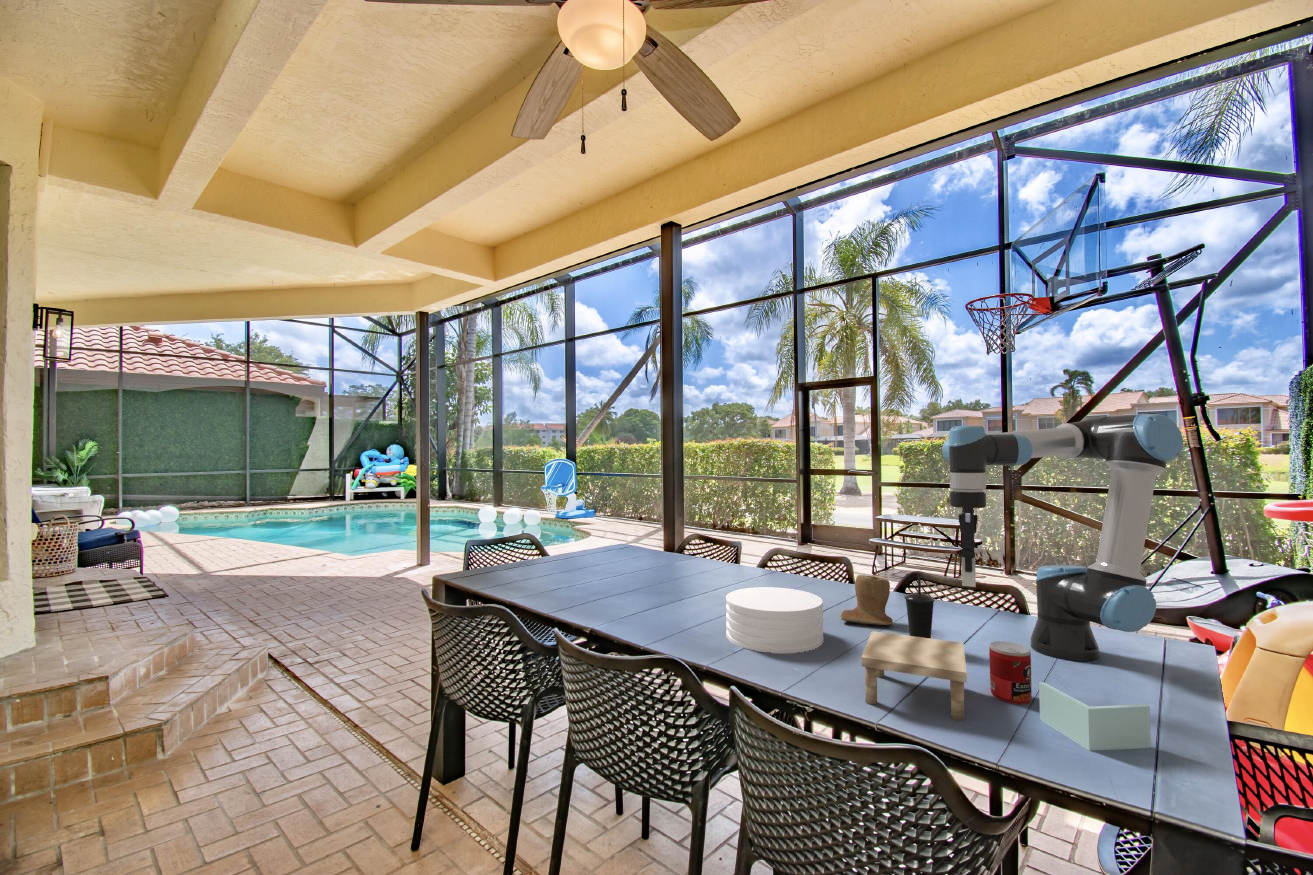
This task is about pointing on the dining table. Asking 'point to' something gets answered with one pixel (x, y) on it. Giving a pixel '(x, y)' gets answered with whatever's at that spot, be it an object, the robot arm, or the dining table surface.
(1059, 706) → the right angle wall
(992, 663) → the canned food
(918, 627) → the drinking cup
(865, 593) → the brown suede boots
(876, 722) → the dining table surface
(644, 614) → the dining table surface
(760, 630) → the plate stack
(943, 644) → the footstool
